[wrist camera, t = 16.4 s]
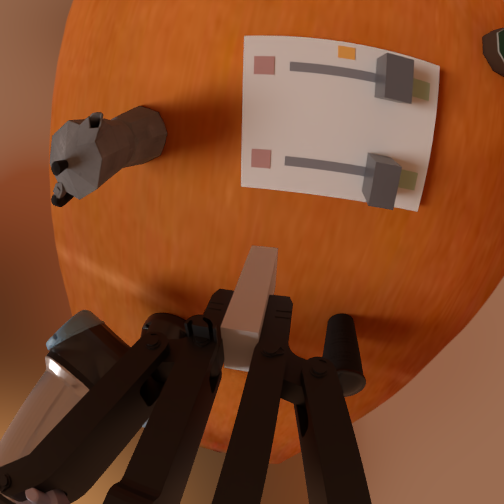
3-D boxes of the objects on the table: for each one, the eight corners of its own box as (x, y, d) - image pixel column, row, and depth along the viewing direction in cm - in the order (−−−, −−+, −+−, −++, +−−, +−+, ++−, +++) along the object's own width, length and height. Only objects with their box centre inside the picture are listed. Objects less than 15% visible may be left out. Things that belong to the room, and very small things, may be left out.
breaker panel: (245, 180, 38) (240, 186, 36) (248, 39, 28) (244, 35, 25) (412, 204, 34) (417, 211, 32) (432, 67, 24) (440, 66, 22)
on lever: (361, 190, 33) (368, 205, 28) (367, 152, 30) (376, 161, 26) (383, 194, 32) (393, 209, 28) (390, 157, 29) (401, 167, 25)
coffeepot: (147, 83, 33) (53, 93, 18) (189, 123, 35) (105, 151, 20) (99, 154, 40) (18, 194, 25) (133, 191, 43) (58, 245, 28)
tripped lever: (374, 97, 26) (384, 97, 22) (376, 58, 24) (386, 52, 19) (398, 102, 26) (411, 104, 22) (400, 64, 23) (414, 60, 19)
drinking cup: (344, 300, 45) (347, 405, 29) (368, 323, 47) (376, 421, 30) (311, 321, 49) (300, 420, 33) (336, 342, 51) (333, 435, 34)
